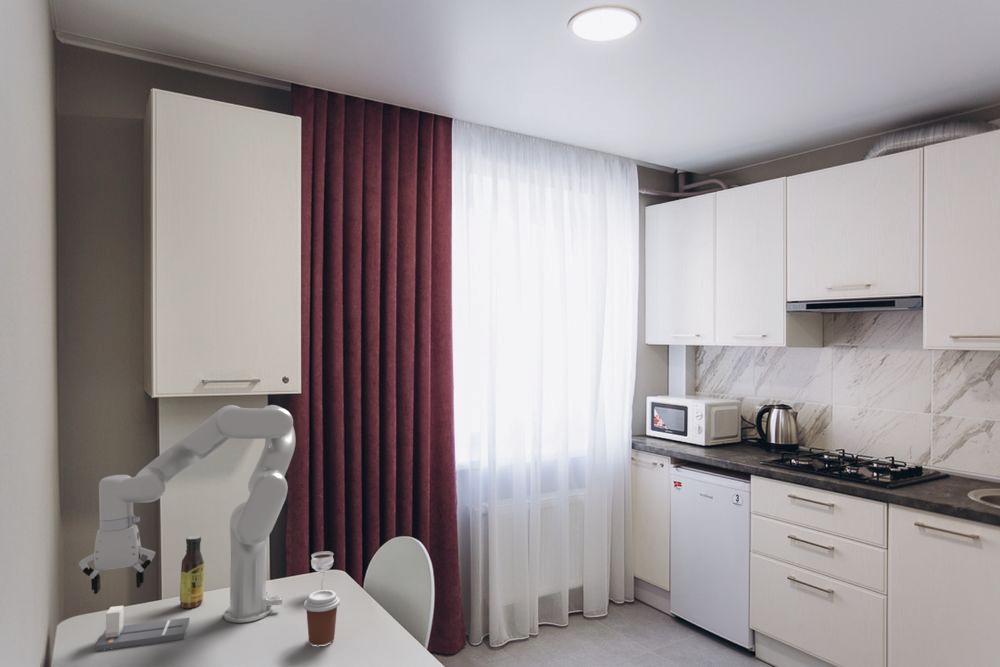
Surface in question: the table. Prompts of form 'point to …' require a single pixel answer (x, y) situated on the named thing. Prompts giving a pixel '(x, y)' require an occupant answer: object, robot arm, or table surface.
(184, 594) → the sauce bottle
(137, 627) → the grey slider base
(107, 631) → the fader
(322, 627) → the coffee cup
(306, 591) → the table surface
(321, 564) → the wineglass
